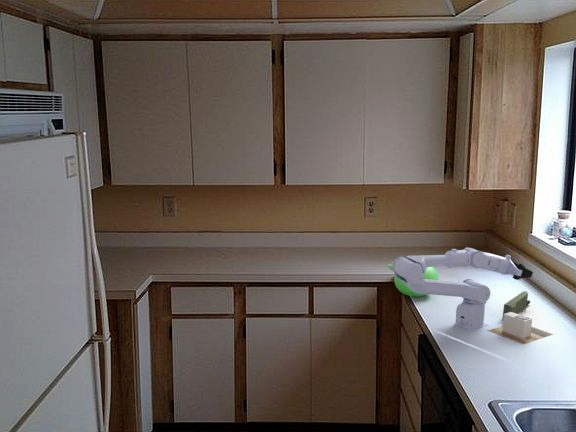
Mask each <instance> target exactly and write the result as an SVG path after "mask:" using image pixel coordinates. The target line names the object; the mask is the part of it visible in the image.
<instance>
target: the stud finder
mask: <svg viewBox="0 0 576 432" xmlns="http://www.w3.org/2000/svg"><path fill="white" fill-rule="evenodd" d="M502 318H503V319H502V321H503V322H502V326H503V330H502V331H504V332H507V333H509V334H512V335H515V336H518V337H520V338H526V337H529V336H531V327H533V326H532V325H533V318H531V317H528V316H525V315H521V314H520V313H518V314H516V313H513V312H509V313H505V314H504V317H503V316H502Z"/></svg>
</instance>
